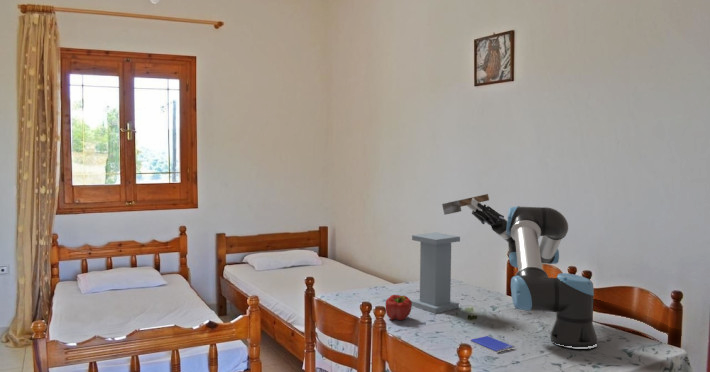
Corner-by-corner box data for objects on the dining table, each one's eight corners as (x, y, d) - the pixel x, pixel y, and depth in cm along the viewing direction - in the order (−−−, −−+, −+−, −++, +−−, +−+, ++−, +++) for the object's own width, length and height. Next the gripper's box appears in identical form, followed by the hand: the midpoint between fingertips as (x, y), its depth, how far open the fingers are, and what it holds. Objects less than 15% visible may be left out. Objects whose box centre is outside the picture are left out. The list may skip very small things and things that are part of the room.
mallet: (442, 204, 259) (444, 214, 258) (450, 202, 254) (453, 213, 253) (481, 195, 272) (483, 205, 272) (490, 193, 267) (492, 203, 267)
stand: (434, 313, 232) (436, 239, 230) (411, 305, 243) (412, 235, 241) (458, 307, 240) (460, 236, 238) (434, 300, 251) (435, 232, 249)
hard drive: (514, 346, 191) (488, 335, 202) (496, 350, 187) (470, 339, 198) (514, 350, 191) (487, 339, 202) (496, 355, 187) (470, 343, 198)
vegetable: (417, 321, 220) (417, 296, 220) (392, 324, 217) (393, 298, 216) (404, 314, 231) (404, 289, 230) (380, 316, 227) (381, 291, 226)
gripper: (492, 223, 280) (459, 197, 272) (517, 219, 267) (484, 191, 258) (488, 236, 277) (454, 210, 269) (513, 232, 264) (478, 205, 255)
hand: (469, 201), depth 264 cm, fingers closed on mallet, 3 cm apart
